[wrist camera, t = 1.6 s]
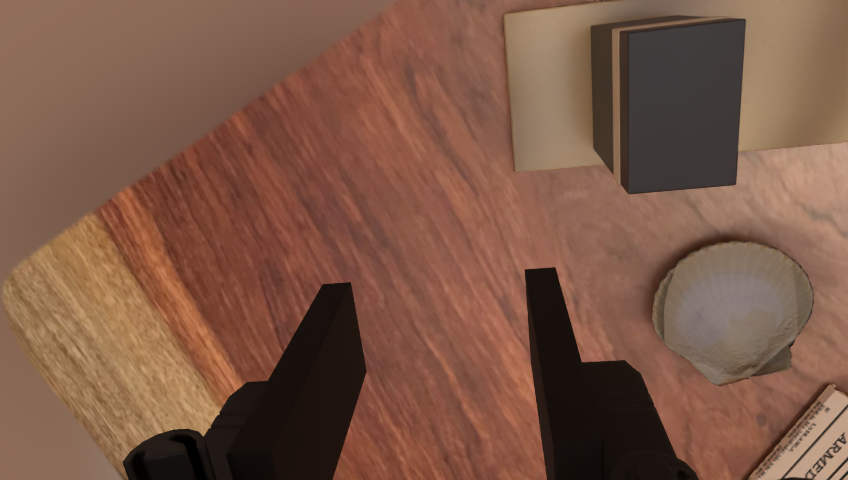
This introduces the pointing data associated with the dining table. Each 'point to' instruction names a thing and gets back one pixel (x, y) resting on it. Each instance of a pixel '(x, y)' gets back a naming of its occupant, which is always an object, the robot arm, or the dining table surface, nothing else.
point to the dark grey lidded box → (668, 101)
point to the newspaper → (812, 443)
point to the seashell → (733, 309)
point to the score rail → (757, 3)
